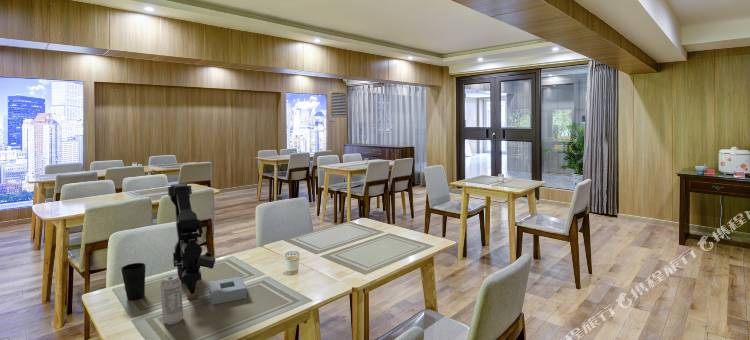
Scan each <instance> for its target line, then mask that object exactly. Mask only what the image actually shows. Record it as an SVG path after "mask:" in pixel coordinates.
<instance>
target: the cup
mask: <svg viewBox="0 0 750 340" xmlns="http://www.w3.org/2000/svg"><path fill="white" fill-rule="evenodd" d="M120 269H121V273H122V274H121V275H122V280H123V286H124V289H125V293H126V299H127V301H130V302H132V301H138V300H141V299H143V298H145V293H146V263H144V262H143V263H142V262H134V263H129V264H126V265H124V266H122V267H121V268H120Z"/></svg>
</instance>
